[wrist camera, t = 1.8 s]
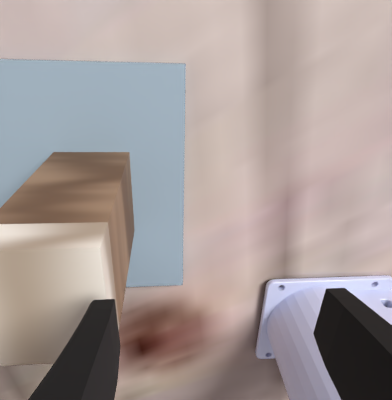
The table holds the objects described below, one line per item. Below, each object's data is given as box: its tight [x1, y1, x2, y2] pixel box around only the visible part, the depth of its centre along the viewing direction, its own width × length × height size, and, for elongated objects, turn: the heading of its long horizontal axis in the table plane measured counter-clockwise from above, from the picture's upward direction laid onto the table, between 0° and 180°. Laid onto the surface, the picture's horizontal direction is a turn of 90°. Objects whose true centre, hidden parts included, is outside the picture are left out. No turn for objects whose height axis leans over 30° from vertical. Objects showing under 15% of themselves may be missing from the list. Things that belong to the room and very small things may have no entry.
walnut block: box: [0, 152, 135, 366], centre depth 15 cm, size 4×5×9 cm
